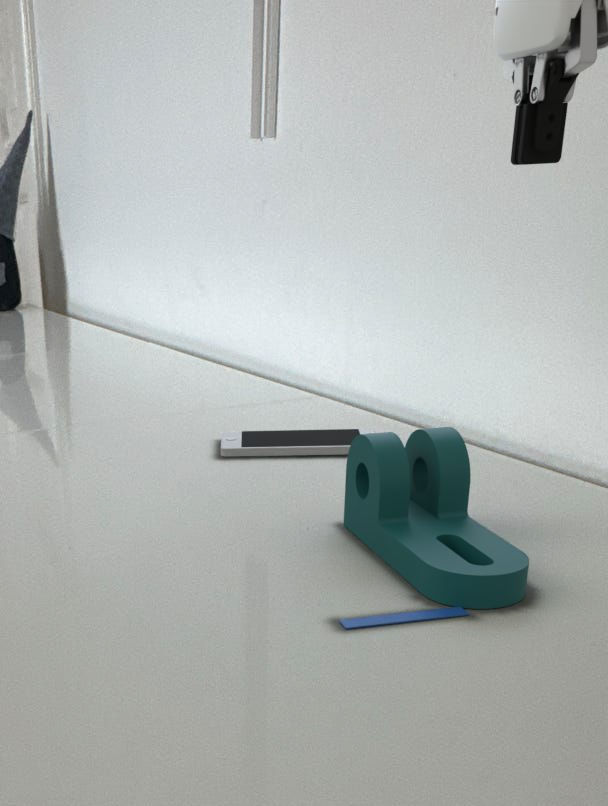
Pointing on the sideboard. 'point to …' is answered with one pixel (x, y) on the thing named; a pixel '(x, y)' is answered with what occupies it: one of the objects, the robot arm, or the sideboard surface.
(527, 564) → the bracket
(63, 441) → the sideboard surface
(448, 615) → the tape line
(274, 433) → the smartphone
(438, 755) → the sideboard surface
